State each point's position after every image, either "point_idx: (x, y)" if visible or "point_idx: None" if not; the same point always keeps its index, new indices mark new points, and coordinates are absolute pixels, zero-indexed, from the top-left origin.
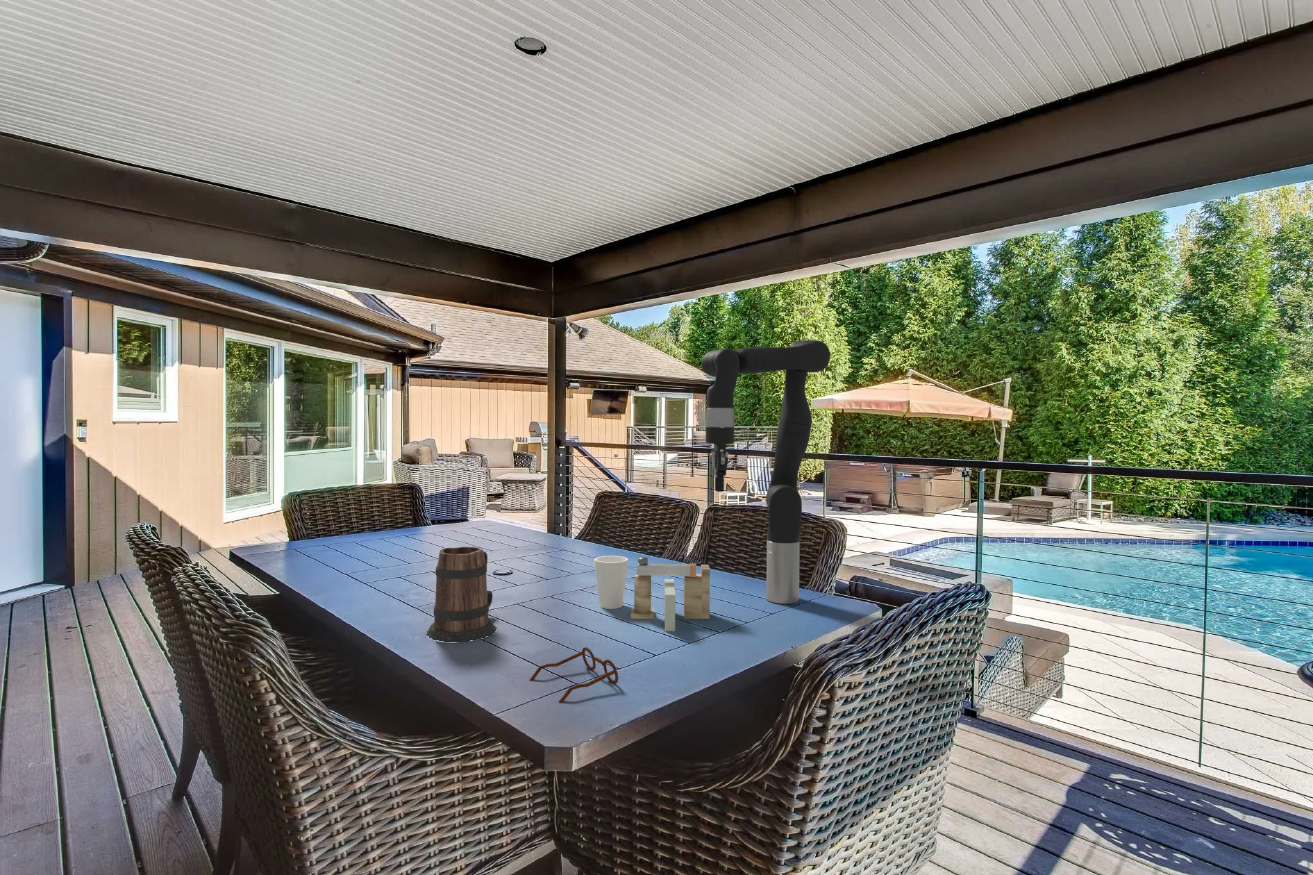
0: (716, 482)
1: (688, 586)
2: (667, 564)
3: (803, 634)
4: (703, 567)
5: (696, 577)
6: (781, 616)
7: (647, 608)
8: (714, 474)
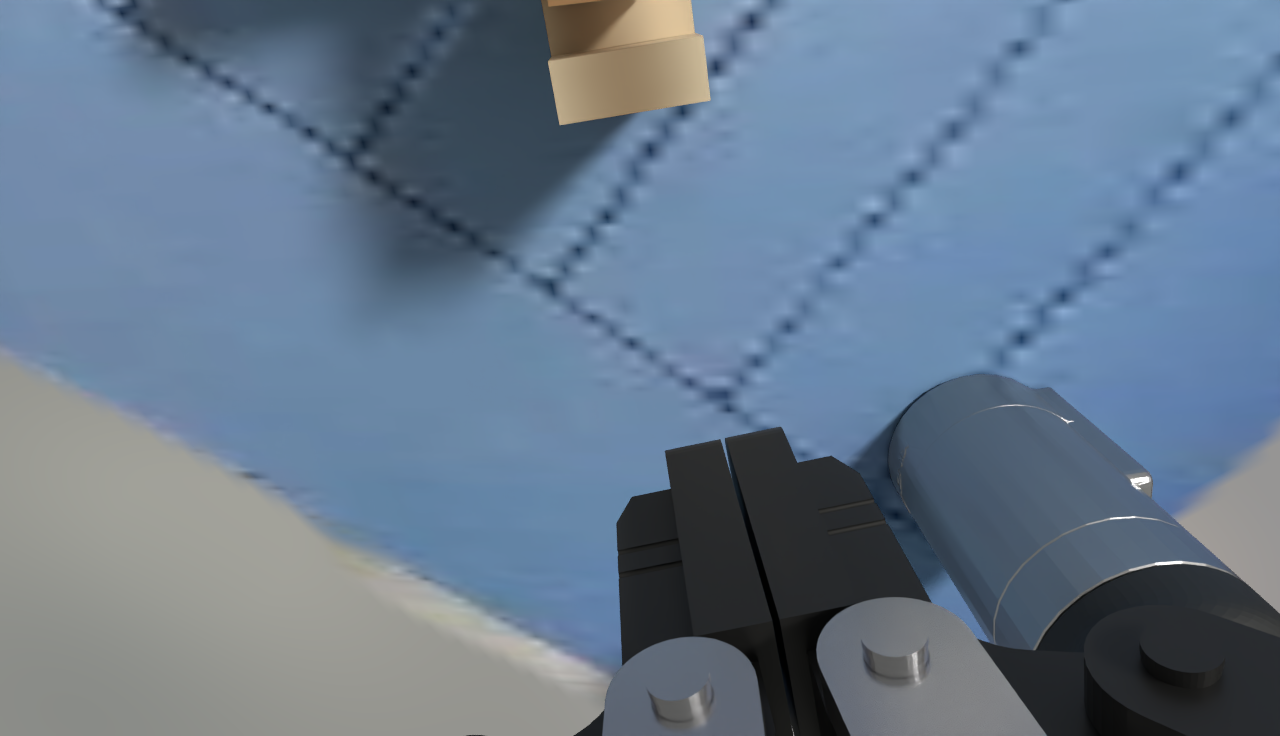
0: (686, 568)
1: None
2: None
3: (430, 521)
4: (607, 66)
5: (578, 7)
6: (679, 440)
7: None
8: (865, 653)
